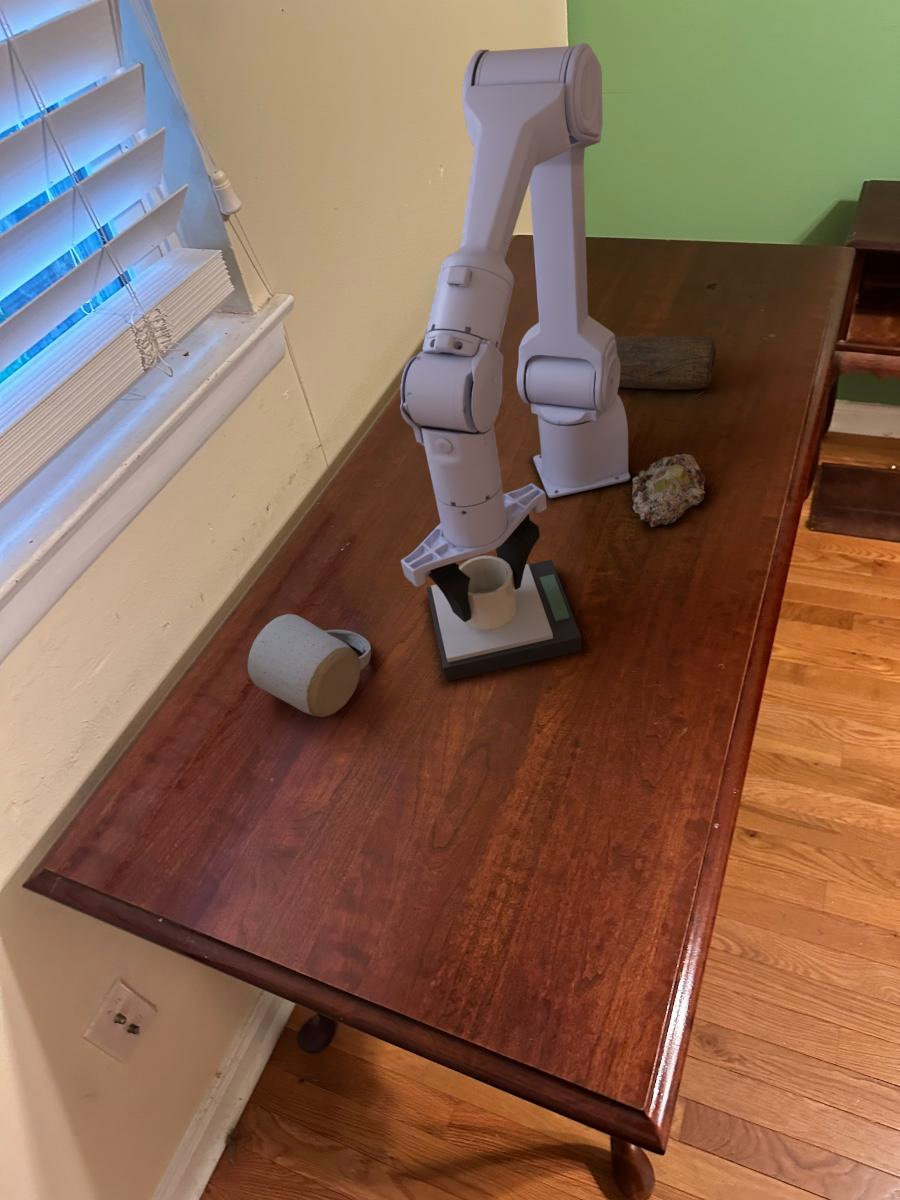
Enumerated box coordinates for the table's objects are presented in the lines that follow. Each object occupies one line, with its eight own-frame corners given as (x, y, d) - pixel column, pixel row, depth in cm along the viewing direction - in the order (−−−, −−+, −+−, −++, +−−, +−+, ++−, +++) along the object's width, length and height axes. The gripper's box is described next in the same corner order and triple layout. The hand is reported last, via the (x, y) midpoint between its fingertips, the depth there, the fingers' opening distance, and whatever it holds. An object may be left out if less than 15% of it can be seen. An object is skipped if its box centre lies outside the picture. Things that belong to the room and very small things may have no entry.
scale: (552, 573, 87) (551, 554, 86) (582, 650, 80) (580, 632, 78) (429, 601, 87) (425, 583, 86) (446, 681, 80) (442, 663, 78)
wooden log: (714, 370, 109) (718, 321, 104) (711, 400, 104) (715, 351, 99) (597, 369, 113) (595, 322, 108) (588, 398, 108) (586, 351, 104)
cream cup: (493, 581, 84) (488, 547, 81) (528, 609, 81) (524, 575, 78) (449, 608, 82) (442, 575, 79) (483, 638, 79) (477, 605, 76)
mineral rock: (642, 445, 96) (711, 441, 91) (652, 476, 99) (720, 473, 94) (607, 506, 90) (679, 505, 85) (619, 537, 93) (690, 537, 88)
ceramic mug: (323, 737, 77) (301, 683, 72) (260, 703, 81) (234, 649, 76) (394, 659, 83) (378, 604, 77) (332, 630, 87) (313, 576, 81)
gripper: (505, 429, 76) (520, 542, 86) (370, 504, 71) (401, 615, 81) (557, 461, 72) (566, 577, 81) (417, 544, 67) (444, 656, 76)
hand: (487, 599), depth 81 cm, fingers closed on cream cup, 5 cm apart
